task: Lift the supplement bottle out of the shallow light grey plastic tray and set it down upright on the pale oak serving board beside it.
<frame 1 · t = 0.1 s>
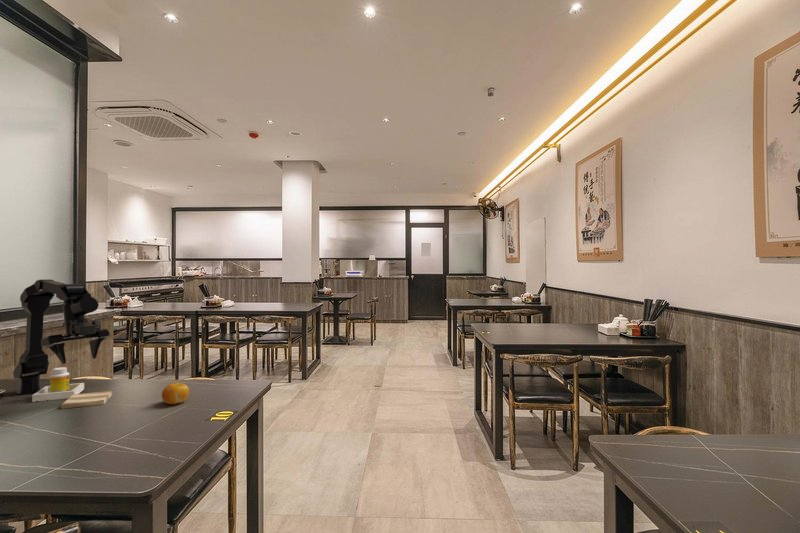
hand: (79, 361, 139), 15 cm above the table, tool pointing down, fingers open, 9 cm apart
fruit: (175, 403, 142), on the table
supplement bottle: (59, 395, 149), resting in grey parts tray
oak serving board: (88, 401, 143), on the table
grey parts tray: (59, 395, 149), on the table
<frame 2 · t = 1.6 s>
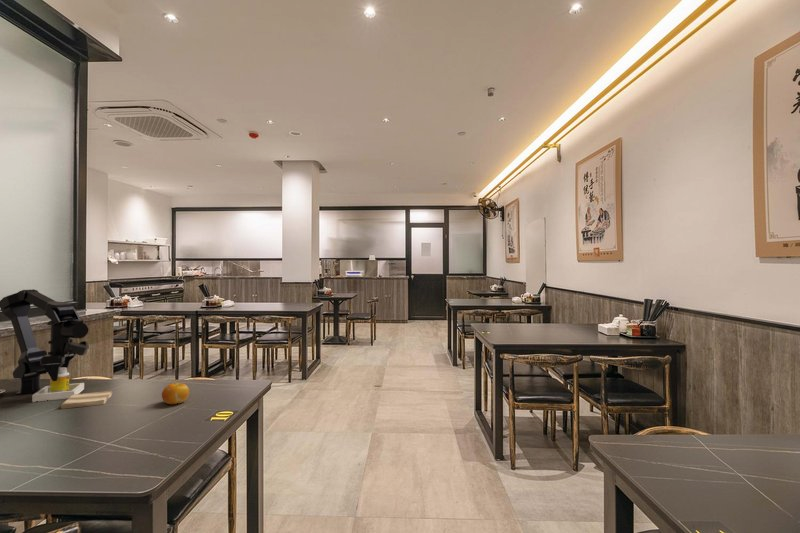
hand: (59, 377, 150), 7 cm above the table, tool pointing down, fingers open, 9 cm apart
nothing on the table moved.
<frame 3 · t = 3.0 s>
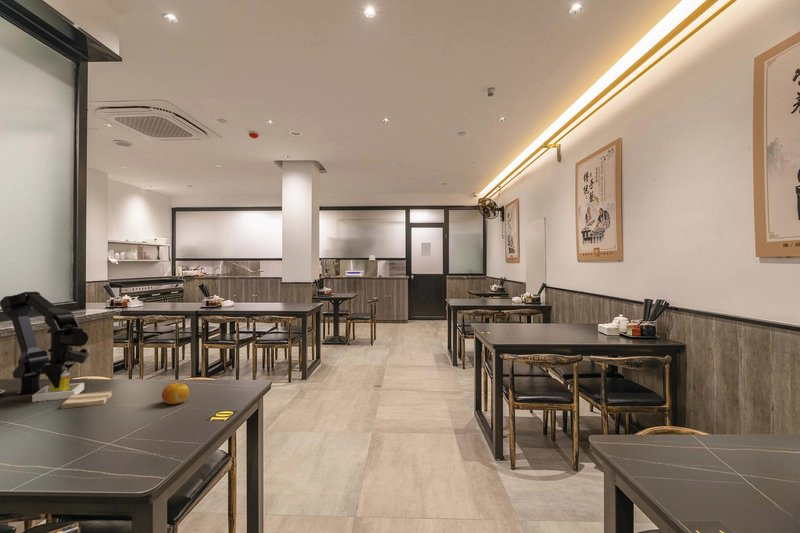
hand: (59, 385, 149), 4 cm above the table, tool pointing down, fingers closed on supplement bottle, 6 cm apart
supplement bottle: (59, 395, 149), resting in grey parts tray, touching gripper
everything else where it was.
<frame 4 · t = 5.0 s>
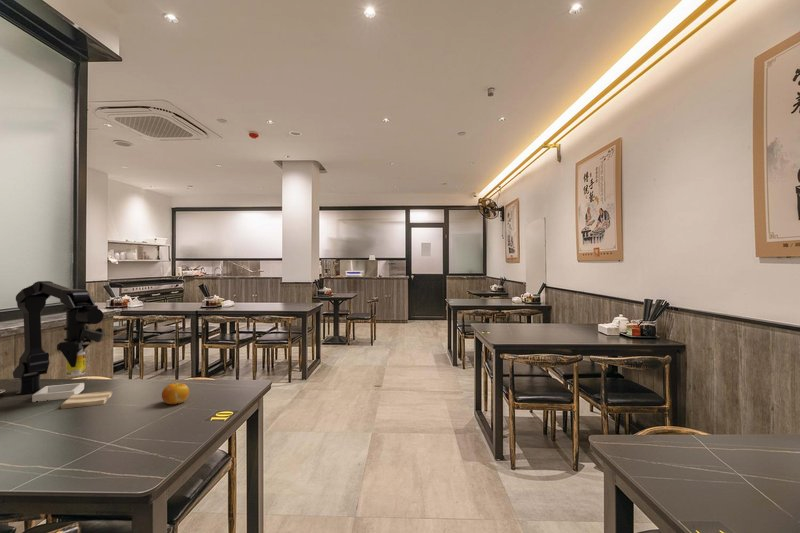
hand: (76, 365, 146), 12 cm above the table, tool pointing down, fingers closed on supplement bottle, 6 cm apart
supplement bottle: (76, 375, 146), point 9 cm above the table, touching gripper
everything else where it was.
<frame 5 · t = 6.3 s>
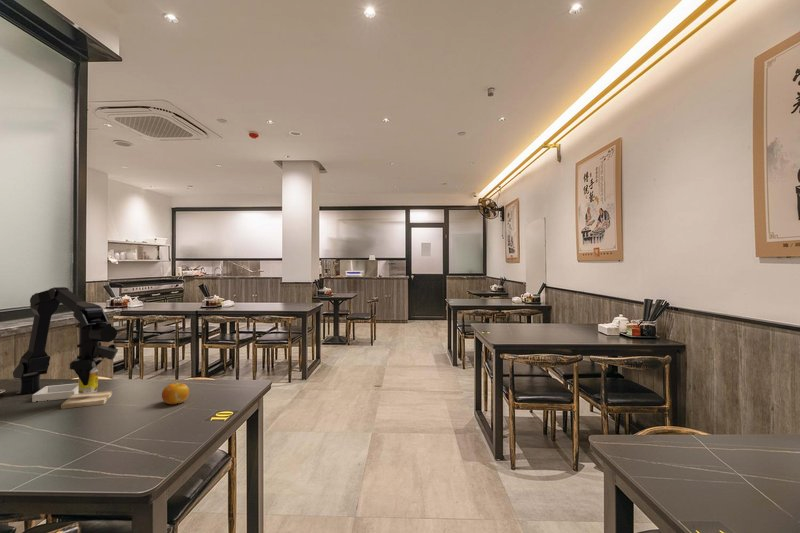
hand: (88, 383, 143), 7 cm above the table, tool pointing down, fingers closed on supplement bottle, 6 cm apart
supplement bottle: (88, 393, 143), point 3 cm above the table, touching gripper
everything else where it was.
when the fingers open (6 cm above the table, at t = 7.3 s): supplement bottle stays where it is, resting on oak serving board.
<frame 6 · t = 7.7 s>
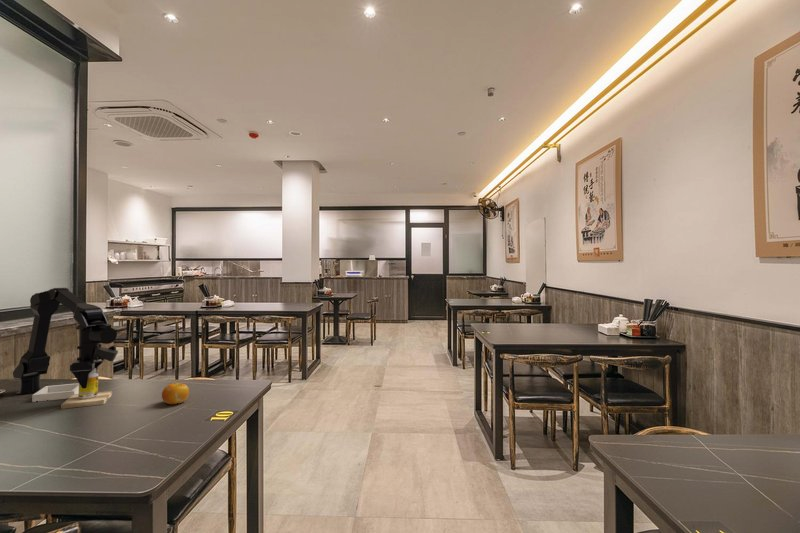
hand: (88, 384, 143), 6 cm above the table, tool pointing down, fingers open, 9 cm apart
supplement bottle: (88, 397, 143), point 1 cm above the table, touching oak serving board
everything else where it was.
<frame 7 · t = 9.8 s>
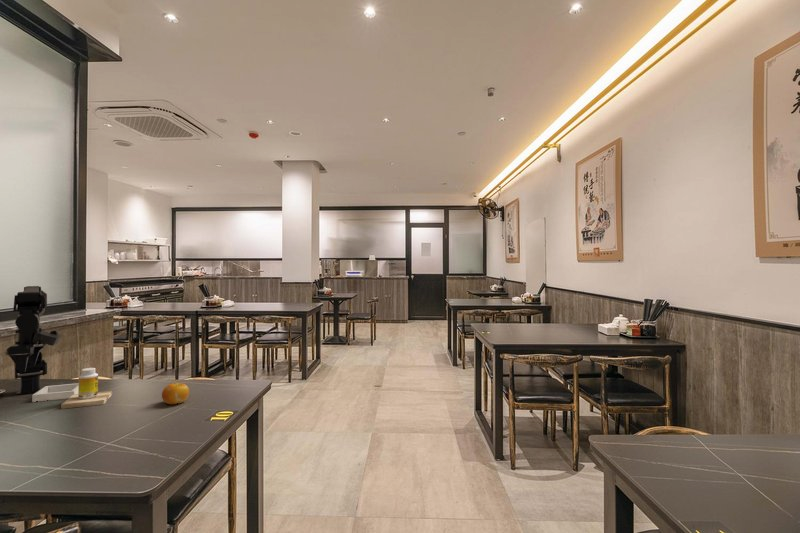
hand: (28, 368, 143), 12 cm above the table, tool pointing down, fingers open, 9 cm apart
nothing on the table moved.
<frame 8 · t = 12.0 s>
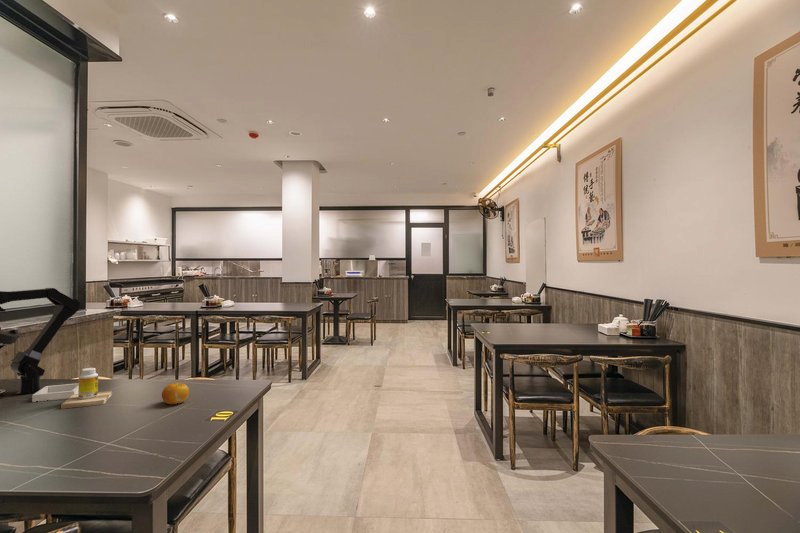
nothing on the table moved.
at the end: supplement bottle inside the target area on the oak serving board (0.1 cm from its centre), point 1.3 cm above the oak serving board's base; supplement bottle tilted 0°; the gripper is holding nothing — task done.
